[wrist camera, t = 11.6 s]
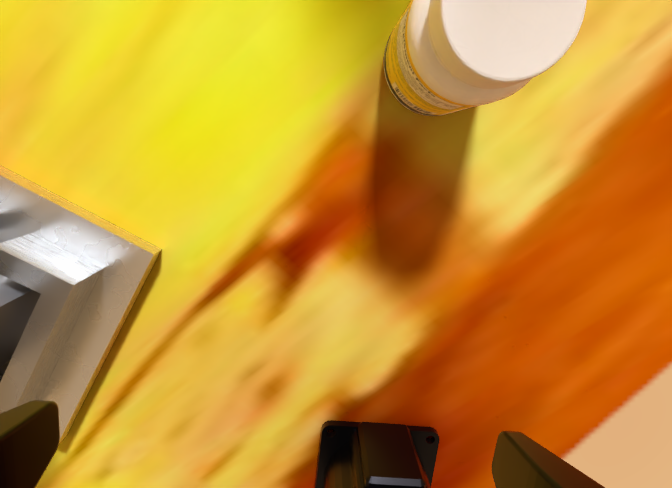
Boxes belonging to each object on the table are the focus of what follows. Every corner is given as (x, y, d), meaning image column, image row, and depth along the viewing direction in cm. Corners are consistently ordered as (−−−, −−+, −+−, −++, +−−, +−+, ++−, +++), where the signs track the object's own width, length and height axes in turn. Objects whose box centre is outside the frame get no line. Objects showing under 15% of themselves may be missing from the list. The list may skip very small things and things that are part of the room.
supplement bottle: (481, -2, 19) (606, -114, 11) (488, 108, 20) (606, 83, 12) (374, 14, 19) (418, -86, 11) (387, 123, 20) (435, 109, 12)
